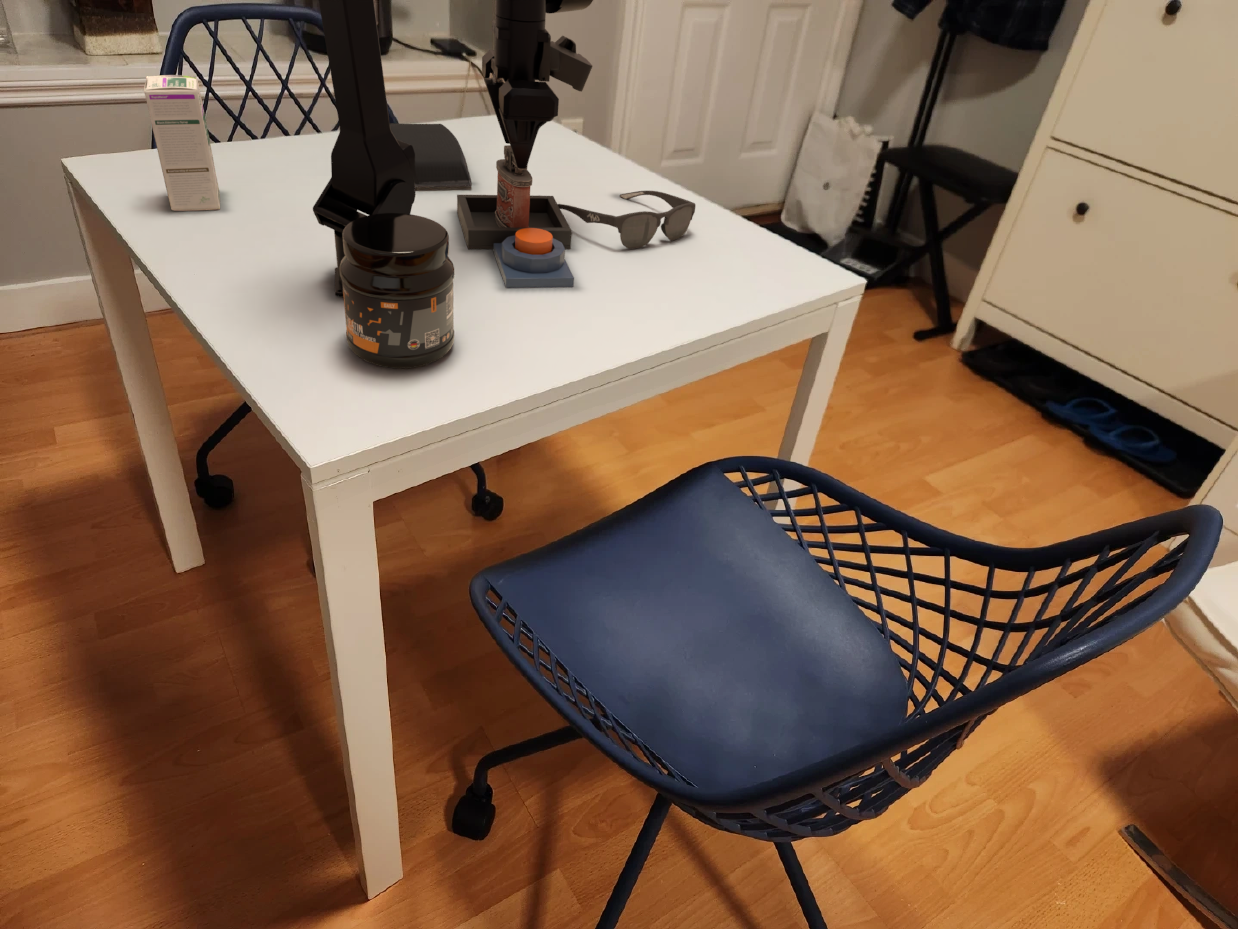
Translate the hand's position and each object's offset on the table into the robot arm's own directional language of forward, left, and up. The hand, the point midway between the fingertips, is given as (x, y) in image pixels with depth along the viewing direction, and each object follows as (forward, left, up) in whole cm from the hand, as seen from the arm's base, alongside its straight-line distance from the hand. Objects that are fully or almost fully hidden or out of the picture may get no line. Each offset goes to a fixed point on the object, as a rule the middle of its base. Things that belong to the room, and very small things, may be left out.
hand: (515, 155), depth 107 cm
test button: (-12, 0, -7) cm, 14 cm away
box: (-12, 0, -10) cm, 15 cm away
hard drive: (+24, +10, -10) cm, 28 cm away
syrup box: (+9, +39, -10) cm, 41 cm away
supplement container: (-29, +16, -10) cm, 35 cm away
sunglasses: (+2, -15, -10) cm, 18 cm away
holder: (0, 0, -10) cm, 10 cm away
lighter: (0, 0, -9) cm, 9 cm away
